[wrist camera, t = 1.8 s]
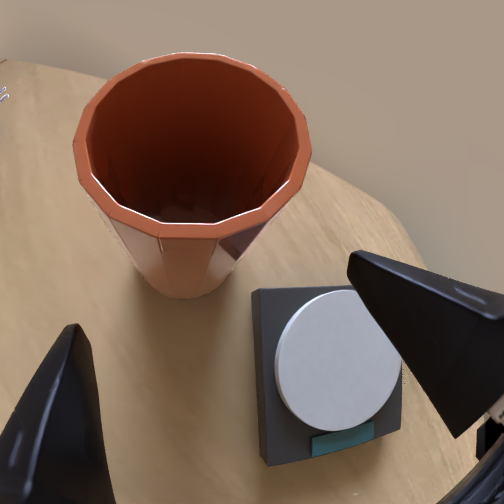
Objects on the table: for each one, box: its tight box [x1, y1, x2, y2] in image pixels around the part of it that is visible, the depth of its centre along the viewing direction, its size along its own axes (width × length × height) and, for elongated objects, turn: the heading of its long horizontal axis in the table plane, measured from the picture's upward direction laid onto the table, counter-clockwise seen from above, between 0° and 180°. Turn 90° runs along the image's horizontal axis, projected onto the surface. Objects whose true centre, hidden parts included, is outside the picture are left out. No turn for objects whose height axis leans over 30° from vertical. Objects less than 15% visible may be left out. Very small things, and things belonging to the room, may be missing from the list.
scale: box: [252, 285, 402, 467], centre depth 18 cm, size 12×11×3 cm
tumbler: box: [73, 52, 312, 299], centre depth 13 cm, size 7×7×13 cm
